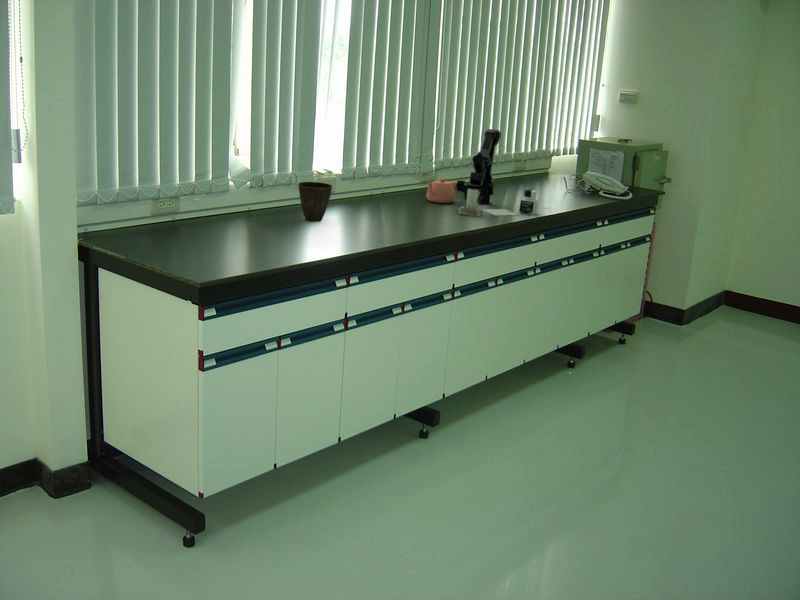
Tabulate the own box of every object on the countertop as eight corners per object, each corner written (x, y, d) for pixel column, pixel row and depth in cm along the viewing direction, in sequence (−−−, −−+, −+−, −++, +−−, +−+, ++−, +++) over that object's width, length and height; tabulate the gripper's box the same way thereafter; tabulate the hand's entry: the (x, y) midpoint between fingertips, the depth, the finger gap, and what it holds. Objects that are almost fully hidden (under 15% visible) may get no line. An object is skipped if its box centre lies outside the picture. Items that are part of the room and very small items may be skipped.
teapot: (434, 205, 438) (436, 182, 435) (414, 200, 449) (416, 177, 445) (464, 202, 453) (466, 179, 449) (443, 197, 463) (445, 175, 460)
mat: (481, 210, 436) (481, 209, 435) (505, 210, 441) (505, 209, 441) (494, 215, 423) (494, 215, 423) (518, 215, 429) (518, 214, 429)
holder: (461, 211, 428) (461, 206, 428) (482, 214, 426) (483, 209, 425) (457, 214, 421) (458, 209, 420) (479, 216, 418) (479, 211, 418)
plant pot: (328, 217, 391) (330, 182, 386) (331, 224, 377) (333, 188, 372) (296, 215, 388) (297, 181, 384) (298, 222, 374) (299, 187, 370)
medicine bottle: (519, 213, 436) (521, 189, 432) (523, 211, 442) (526, 188, 438) (532, 215, 433) (535, 191, 429) (536, 213, 439) (539, 190, 435)
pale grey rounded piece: (466, 212, 428) (469, 188, 424) (477, 213, 427) (479, 189, 423) (463, 214, 421) (465, 190, 417) (474, 216, 419) (476, 191, 416)
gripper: (458, 164, 424) (451, 189, 417) (495, 168, 419) (489, 193, 412) (460, 177, 434) (453, 202, 427) (496, 181, 429) (490, 207, 422)
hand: (471, 201), depth 422 cm, fingers open, 6 cm apart
